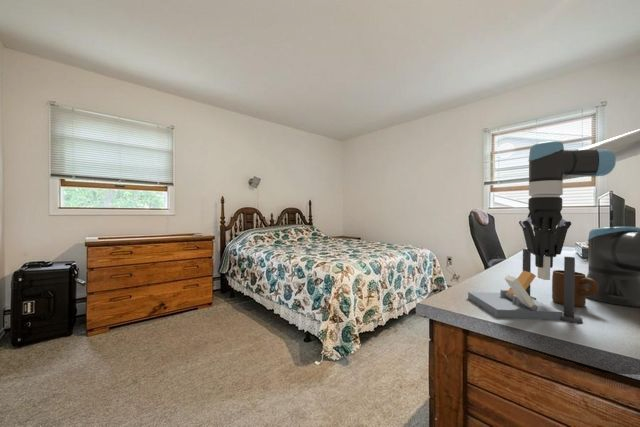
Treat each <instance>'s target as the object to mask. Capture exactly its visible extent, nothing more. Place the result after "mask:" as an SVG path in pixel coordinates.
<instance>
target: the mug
mask: <svg viewBox="0 0 640 427" xmlns="http://www.w3.org/2000/svg"><path fill="white" fill-rule="evenodd" d="M586 277H587V275H586V274H585V273H582V272H578V271H575V298H574V308H583V307H584V306H586V301H587V300H586V299H587V297H586V295H587V296H592V295H595V294H596V293H597V292H598V289H599V286H598V283H597V282H596V281H595V280H593V279H591V278H586ZM587 283H589V284H590V285H591V287H590V289H589V290H587V289H586V284H587ZM551 287H552V288H551V293H552V294H551V298H552V301H553V302H554V303H556V304H558V305H559V304H560V305H562V306H564V269H563V270H560V269H559V270H558V269H557V270H555V269H554V270H553V271H552V276H551Z"/></svg>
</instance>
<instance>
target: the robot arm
mask: <svg viewBox="0 0 640 427" xmlns="http://www.w3.org/2000/svg"><path fill="white" fill-rule="evenodd" d="M638 155H640V128H639V129H636V130H633V131H630V132H627V133H624V134H622V135H617V136H615V137H612V138H609V139H606V140H603V141H600V142H597V143H594V144H591V145H588V146H585V147H581V148H579V149H565V147H564V143H563V142H562V141H558V140H553V141H543V142H538V143H535V144H533V145H532V146H531V147H530V149H529V155H528V196H529V199H528V201H527V202H528V209H527V210H528V215H527V217H526V218H524V219H523V220H519V222H518V224H519V225H520V227H521V228H522V232H523V236H524V241H525V244H526V249H527V250H528V252H529V253H531V255H533V256H535V258H534V259H535V262H534V264H535V265H534V266H535V267H537V279H539V280H540V279H541V280H543V281H550V280H551V269H552V268H553V262H554V258H556V257H557V255H561V254H562V251H563V247H564V244H565V240H566V236H567V233H568V230H569V228H570V227H571V225H572V222H571V221H570V220H569V221H567V220H566V219H564V218H563V215H562V213H561V211H562V210H563V198H562V197H561V196H563V194H564V192H563V191H564V184H563V183H564V182H563V181H565V180H572V179H578V178H585V177H592V178H595V177H604V176H607V175H609V174H610V173H611V172H612V171H614V168H615V167H616V163H617V162H619V161H623V160H626V159H630V158H632V157H635V156H636V157H637V156H638ZM532 226H533V227H532ZM587 242H588V244H587V246H588V247H587V248H588V250H587V252H588V253H587V255H588V256H587V258H588V259H587V260H588V266H587V267H588V270H587V271H588V272H587V275H586V278H591V279H593V280H595V281H596V282H597V283H598V286H599V289H598V292H597V293H596V294H595V295H592V296H587V295H586V299H591V300H595V301H598V302H603V303H607V304H613V305H618V306H628V307H635V308H636V307H637V308H638V307H640V227H638V226H609V227H607V226H606V227H596V228H591V230H590V231H589V233H588V239H587ZM590 287H591V285H590V284H589V283H587V284H586V289H587V290H589V289H590Z"/></svg>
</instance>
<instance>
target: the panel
mask: <svg viewBox="0 0 640 427" xmlns="http://www.w3.org/2000/svg"><path fill="white" fill-rule="evenodd" d="M508 290H509V289H500V292H483V291H482V292H481V291H480V292H479V291H468V292H467V294H468V295H467V298H468V299H469V300H470V301H472V302H473V303H475V304H477V305H478V306H479V307H481V308H482V309H484V310H485V311H487V312H488V313H491V314H492V315H493V316H495V317H496V318H503V319H504V318H506V319H507V318H509V319H529V320H530V319H532V320H533V319H534V320H535V319H536V320H557V319H558V320H559V321H561V320H560V318H561V317H562V313H563V311H561V310H558V309H557V308H555V307H552V306H550V305H548V304H545V303H543V302H542V301H541V302H540V301H539V300H537V299H536V300H534V299H532V298H531V299H532V300H533V302H534V303H535V305H537V307H538V309H537V310H536V311H533V310H531V309H529V308H527V307H525V306H523V305H522V303H521V301H520V300H519V299H518V297H517V296H516V295H513V300H511V299H509V298H507V297H506V296H505V293H507V291H508Z"/></svg>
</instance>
